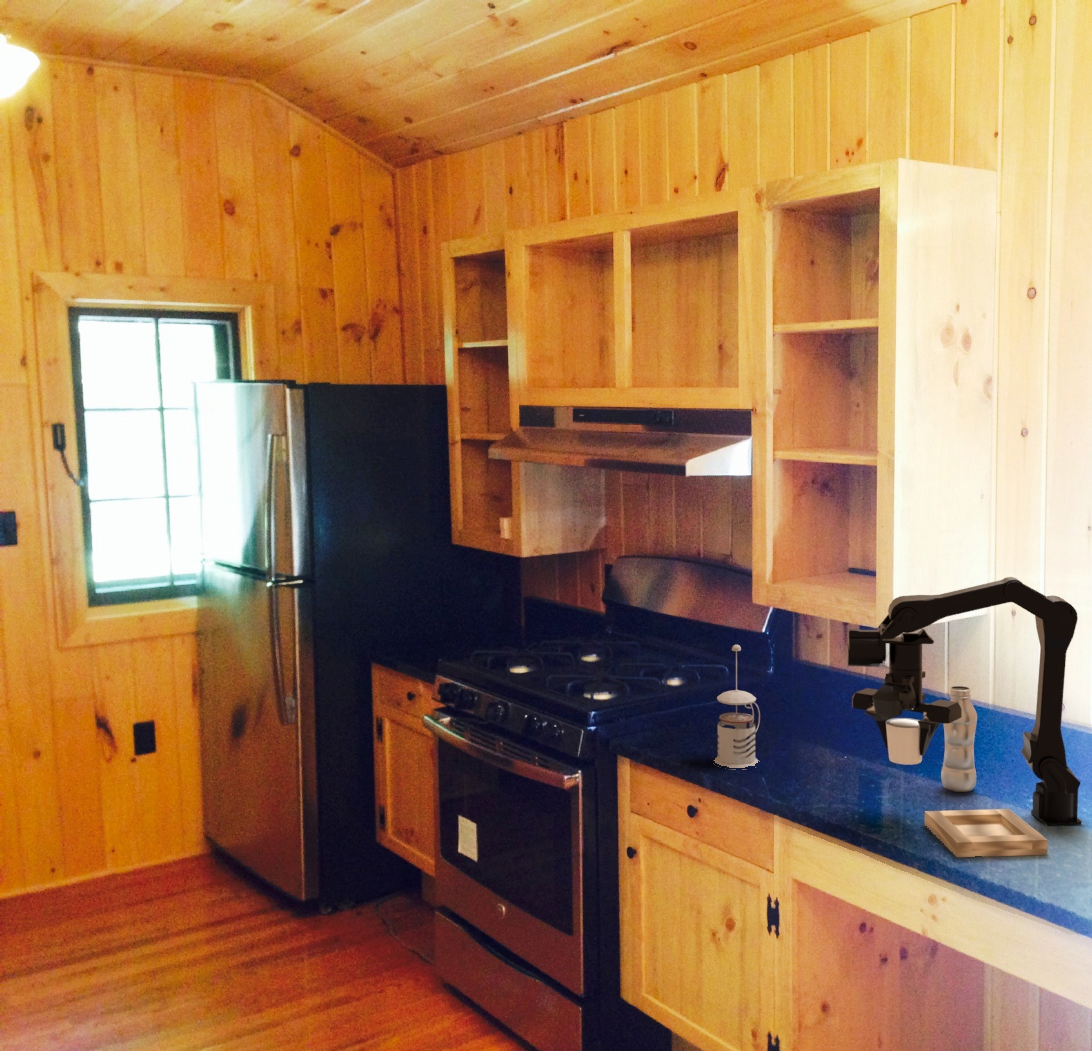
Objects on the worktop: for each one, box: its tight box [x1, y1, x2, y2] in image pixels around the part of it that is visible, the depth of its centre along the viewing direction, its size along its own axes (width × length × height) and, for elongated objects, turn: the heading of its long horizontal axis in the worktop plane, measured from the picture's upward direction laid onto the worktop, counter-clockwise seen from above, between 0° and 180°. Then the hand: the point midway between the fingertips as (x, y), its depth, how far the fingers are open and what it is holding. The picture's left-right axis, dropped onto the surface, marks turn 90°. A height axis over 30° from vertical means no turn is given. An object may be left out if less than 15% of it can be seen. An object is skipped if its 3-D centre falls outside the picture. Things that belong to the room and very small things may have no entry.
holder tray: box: [924, 808, 1049, 858], centre depth 200 cm, size 15×15×2 cm
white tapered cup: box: [886, 717, 923, 766], centre depth 213 cm, size 7×7×7 cm
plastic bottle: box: [940, 685, 978, 793], centre depth 225 cm, size 6×7×20 cm
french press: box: [713, 644, 761, 768], centre depth 245 cm, size 10×12×25 cm
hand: (905, 751), depth 213 cm, fingers closed on white tapered cup, 6 cm apart
